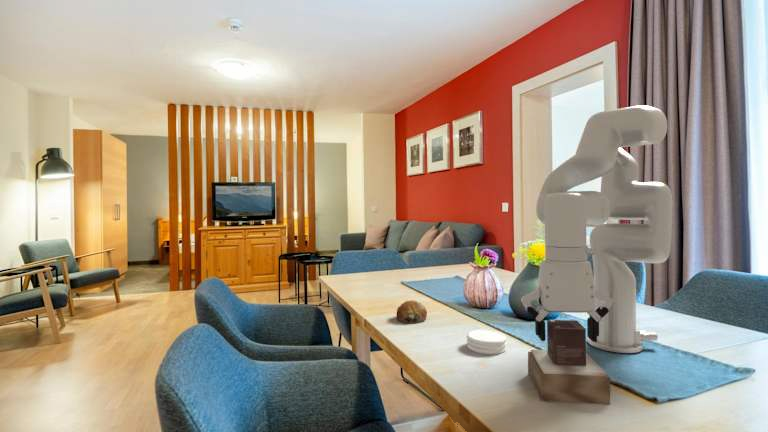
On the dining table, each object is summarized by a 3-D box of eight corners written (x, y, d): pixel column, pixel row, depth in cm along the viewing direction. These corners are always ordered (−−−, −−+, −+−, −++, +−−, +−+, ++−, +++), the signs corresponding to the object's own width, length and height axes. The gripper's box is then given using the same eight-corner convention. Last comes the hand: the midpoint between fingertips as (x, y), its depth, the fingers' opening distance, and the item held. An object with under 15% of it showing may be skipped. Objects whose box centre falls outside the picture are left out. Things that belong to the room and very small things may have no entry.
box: (586, 367, 77) (586, 329, 77) (553, 365, 78) (553, 327, 78) (577, 355, 83) (577, 320, 83) (546, 354, 84) (546, 319, 84)
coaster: (459, 345, 107) (459, 332, 107) (490, 339, 111) (490, 327, 111) (482, 358, 98) (482, 343, 98) (515, 351, 102) (515, 338, 101)
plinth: (586, 376, 86) (586, 350, 86) (610, 404, 74) (610, 374, 74) (528, 374, 87) (527, 348, 87) (542, 400, 75) (541, 371, 75)
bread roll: (429, 330, 131) (433, 306, 134) (416, 324, 124) (421, 298, 126) (403, 325, 137) (407, 302, 139) (388, 319, 129) (394, 295, 132)
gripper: (604, 251, 83) (604, 333, 83) (517, 252, 85) (518, 332, 86) (620, 256, 75) (621, 347, 76) (524, 257, 78) (526, 345, 78)
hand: (566, 339), depth 81 cm, fingers open, 9 cm apart
